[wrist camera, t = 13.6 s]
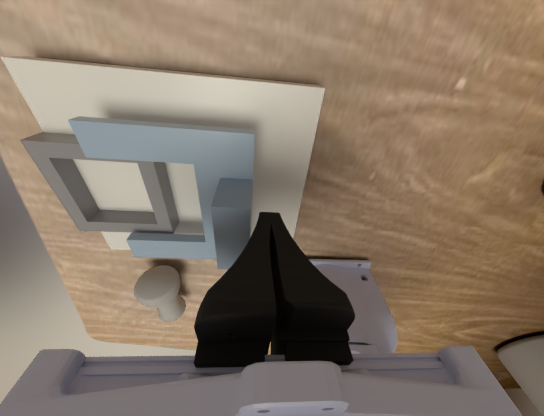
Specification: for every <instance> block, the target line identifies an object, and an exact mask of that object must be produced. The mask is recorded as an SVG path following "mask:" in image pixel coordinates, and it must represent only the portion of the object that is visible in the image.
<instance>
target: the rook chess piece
mask: <svg viewBox="0 0 544 416" xmlns="http://www.w3.org/2000/svg"><path fill="white" fill-rule="evenodd" d="M180 285H181V283H180V277H179V273H178V272H177V270H176V269H175V268H173V267H171V266H168V265H160V266H156V267H152V268H150V269H149V270H147V271H145V272H144V273H143V274H142V275H141V276H140V277H139V279H138V281H137V283H136V285H135V287H134V295H135V297H136V299H137V300H138V301H140V302H141V304H143V305H145V306H147V307H157V310H158V312H159V317H160V319H161V320H163V321H165V322H171V321H175V320H177V319H178V318H179V317H181V316H182V314H183V312H184V311H185V307H186V303H185V300H184V299H183V298H182V297H181V296H180V295H179V294H178V292H179V288H180Z"/></svg>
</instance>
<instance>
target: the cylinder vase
mask: <svg viewBox="0 0 544 416" xmlns="http://www.w3.org/2000/svg"><path fill="white" fill-rule="evenodd" d="M497 357H498V358H499V359H500V361H501V362H502V363H503V365H504V366H505V367H506V368H507V370H508V371H509V372H510V374H511V375H512V376H513V377H514V379H515V380H516V381H517V383H518V384H519V385H520V386H521V388H522V389H523V390H524V392H525V393H526V394H527V395H528V397H529V398H530V399H531V401H532V402H533V403H534V404H535V405H536V407H537V408H538V410H539V411H540V412H541V413H542V415H543V416H544V335H539V336H533V337H528V338H524V339H520V340H517V341H514V342H512V343H509V344H507V345H505V346H503V347H501V348H500V349H499V350H498V351H497Z"/></svg>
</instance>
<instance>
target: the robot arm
mask: <svg viewBox="0 0 544 416" xmlns="http://www.w3.org/2000/svg"><path fill="white" fill-rule="evenodd" d="M370 266H371V263H370V261H368V260H333V259H308V258H307V257H306V256H305V255H304V253H303V252H302V251H301V250H300V248H299V247H298V245H297V244H296V242H295V241H294V239H293V238H292V236H291V235H290V233H289V231H288V230H287V228H286V226H285V224H284V222H283V220H282V218H281V215H280V213H277V212H260V213H259V217H258V221H257V224H256V226H255V229H254V231H253V233H252V235H251V237H250V239H249V241H248V243H247V245H246V246H245V248H244V249H243V251H242V252H241V254H240V255H239V257H238V258H237V259H236V261H235V262H234V263H233V265H232V266H231V267H230V268H229V269H228V271H227V272H226V273H225V274H224V275H223V276H222V277H221V278H220V279H219V280H218V281H217V282H216V283H215V284H214V285H213V286H212V287H211V288H210V289H209V290H208V291H207V293H206V295H205V297H204V299H203V301H202V303H201V305H200V308H199V311H198V313H197V317H196V321H195V325H194V329H195V332H196V335H197V339H198V345H197V350H196V354H195V356H137V357H136V356H134V357H133V356H132V357H85V355H84V354H83V353H82V352H80V351H78V350H73V349H72V350H71V349H48V350H47V349H44V350H41V351H40V352H39V353H38V354H37V356H36V357H35V358H34V360H33V361H32V362H31V364H30V365H29V366H28V368H27V369H26V370H25V372H24V373H23V374H22V376H21V377H20V378H19V380H18V381H17V383H16V384H15V385H14V386H13V388H12V389H11V390H10V392H9V393H8V394H7V396H6V397H5V399H4V400H3V401H2V403H1V404H0V416H522V415H521V413H520V412H519V410H518V409H517V407H516V406H515V405H514V404H513V402H512V401H511V399H510V398H509V396H508V395H507V394H506V392H505V391H504V389H503V388H502V387H501V385H500V384H499V382H498V381H497V380H496V378H495V377H494V375H493V374H492V373H491V371H490V370H489V369H488V367H487V366H486V364H485V363H484V362H483V360H482V359H481V357H480V356H479V355H478V353H477V352H476V350H475V349H474V348H473V347H472V346H447V347H444V348H442V349H440V350H439V351H438V352H437V353H394V352H395V350H396V347H397V331H396V326H395V322H394V319H393V316H392V314H391V312H390V309H389V307H388V305H387V303H386V301H385V299H384V297H383V295H382V293H381V291H380V289H379V287H378V285H377V283H376V281H375V279H374V277H373V275H372V273H371V271H370V269H369V268H370ZM270 342H271V355H267V354H268V349H269V344H270Z"/></svg>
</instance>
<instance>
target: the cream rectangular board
mask: <svg viewBox="0 0 544 416" xmlns="http://www.w3.org/2000/svg"><path fill="white" fill-rule="evenodd" d="M1 59H2V60H3V62H4V64H5V66H6V67H7V69H8V71H9V73H10V74H11V76H12V78H13V79H14V81H15V83H16V85H17V86H18V88H19V90H20V92H21V93H22V95H23V97H24V99H25V100H26V102H27V104H28V106H29V107H30V109H31V111H32V113H33V114H34V116H35V118H36V120H37V121H38V123H39V125H40V127H41V128H42V130H43V132H42V133H39V134H36V135H33V136H30V137H27V138H25V139H22V140H20V141H21V143H22V144H23V146H24V147H25V149H26V150H27V152H28V153H29V155H30V156H31V158H32V159H33V161H34V162H35V164H36V165H37V167H38V169H39V170H40V172H41V173H42V175H43V176H44V178H45V179H46V181H47V182H48V184H49V185H50V187H51V188H52V190H53V191H54V193H55V194H56V196H57V197H58V199H59V200H60V202H61V203H62V205H63V207H64V208H65V210H66V211H67V213H68V214H69V216H70V217H71V219H72V220H73V222H74V223H75V225H76V226H77V228H78V229H79V231H101V233H102V235H103V236H104V238H105V240H106V242H107V243H108V245H109V247H110V249H112V250H131V249H130V247H129V245H128V243H127V241H126V239H127V238H128V237H129V235H130V234H131V233H160V234H189V235H205V234H204V228H203V221H202V215H201V209H200V202H199V196H198V189H197V183H196V177H195V170H194V164H183V163H166V162H150V161H134V160H118V159H102V158H86V157H85V155H84V152H83V150H82V148H81V146H80V144H79V142H78V140H77V138H76V136H75V134H74V132H73V130H72V128H71V126H70V124H69V122H68V120H69V119H72V118H75V117H78V116H83V117H96V118H109V119H122V120H135V121H148V122H161V123H174V124H187V125H200V126H213V127H225V128H238V129H251V130H255V143H254V172H253V200H252V229H251V235H252V233H253V231H254V229H255V226H256V224H257V221H258V217H259V213H260V212H277V213H280V215H281V218H282V220H283V222H284V224H285V226H286V228H287V230H288V231H289V233H290V235H291V236H292V238H294V233H295V229H296V224H297V219H298V214H299V210H300V205H301V200H302V195H303V191H304V186H305V181H306V176H307V172H308V167H309V162H310V157H311V153H312V148H313V143H314V138H315V134H316V129H317V124H318V119H319V115H320V110H321V105H322V100H323V96H324V91H325V88H324V87H322V86H320V85H313V84H303V83H293V82H283V81H272V80H262V79H252V78H242V77H232V76H221V75H211V74H201V73H191V72H180V71H170V70H160V69H150V68H140V67H129V66H119V65H109V64H99V63H88V62H78V61H68V60H58V59H48V58H37V57H27V56H23V57H1Z"/></svg>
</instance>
